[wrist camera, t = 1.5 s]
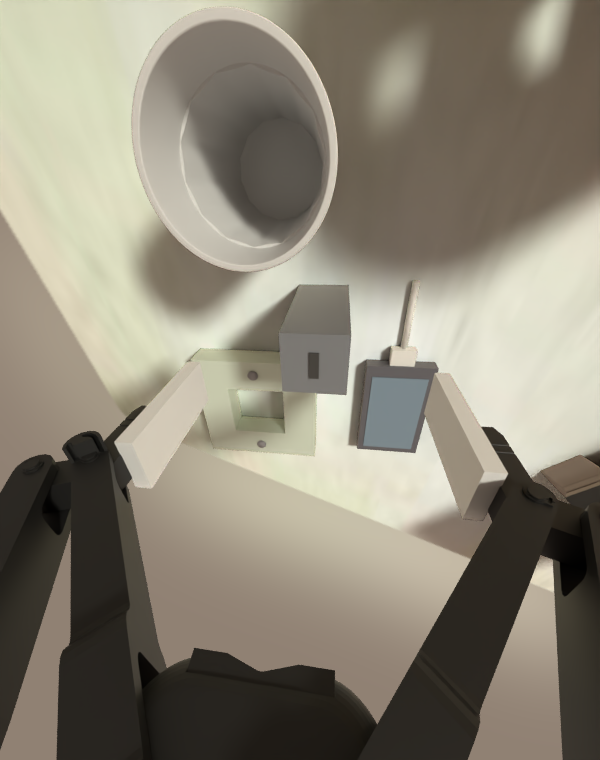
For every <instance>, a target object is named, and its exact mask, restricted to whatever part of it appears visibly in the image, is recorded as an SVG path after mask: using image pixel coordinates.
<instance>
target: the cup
mask: <svg viewBox="0 0 600 760" xmlns="http://www.w3.org/2000/svg"><path fill="white" fill-rule="evenodd" d="M132 141H133V149H134V155H135V160H136V164H137V168H138V172H139V175H140V178H141V181H142V184H143V187H144V189H145V192H146V194H147V196H148V198H149V200H150V203H151V204H152V206H153V208H154V210H155V212H156V213H157V215H158V216H159V218H160V219H161V221H162V222H163V224H164V225H165V226H166V228H167V229H168V230H169V231H170V233H171V234H172V235H173V236H174V237H175V238H176V239H177V240H178V241H179V242H180V243H181V244H182V245H183V246H184V247H185V248H187V249H188V250H189V251H190V252H192V253H193V254H194V255H196V256H197V257H199V258H201V259H202V260H204V261H206V262H208V263H210V264H212V265H215V266H217V267H220V268H223V269H227V270H232V271H238V272H255V271H262V270H266V269H270V268H273V267H275V266H278V265H280V264H282V263H284V262H286V261H287V260H289V259H291V258H292V257H293V256H295V255H296V254H297V253H299V252H300V251H301V250H302V249H303V248H304V247H305V246H306V245H307V244H308V243H309V241H310V240H311V239H312V238H313V236H314V235H315V233H316V232H317V230H318V229H319V227H320V225H321V224H322V222H323V220H324V218H325V216H326V213H327V211H328V208H329V206H330V203H331V199H332V196H333V192H334V188H335V182H336V176H337V166H338V144H337V133H336V127H335V121H334V116H333V112H332V108H331V105H330V102H329V99H328V96H327V93H326V90H325V88H324V86H323V83H322V81H321V79H320V77H319V75H318V73H317V71H316V70H315V68H314V66H313V64H312V63H311V61H310V60H309V58H308V57H307V55H306V54H305V53H304V51H303V50H302V49H301V48H300V46H299V45H298V44H297V43H296V42H295V41H294V40H293V39H292V38H291V37H290V36H289V35H288V34H287V33H286V32H285V31H284V30H282V29H281V28H280V27H279V26H277V25H276V24H274V23H273V22H271V21H270V20H268V19H266V18H265V17H263V16H261V15H259V14H256V13H254V12H251V11H248V10H245V9H241V8H236V7H226V6H219V7H210V8H205V9H201V10H198V11H195V12H192V13H190V14H188V15H186V16H184V17H183V18H181V19H179V20H178V21H177V22H175V23H174V24H173V25H171V26H170V27H169V28H168V29H167V30H166V31H165V32H164V33H163V34H162V35H161V36H160V38H159V39H158V40H157V41H156V43H155V44H154V46H153V47H152V49H151V50H150V52H149V54H148V56H147V58H146V59H145V62H144V64H143V66H142V69H141V71H140V74H139V77H138V81H137V84H136V88H135V93H134V99H133V106H132Z"/></svg>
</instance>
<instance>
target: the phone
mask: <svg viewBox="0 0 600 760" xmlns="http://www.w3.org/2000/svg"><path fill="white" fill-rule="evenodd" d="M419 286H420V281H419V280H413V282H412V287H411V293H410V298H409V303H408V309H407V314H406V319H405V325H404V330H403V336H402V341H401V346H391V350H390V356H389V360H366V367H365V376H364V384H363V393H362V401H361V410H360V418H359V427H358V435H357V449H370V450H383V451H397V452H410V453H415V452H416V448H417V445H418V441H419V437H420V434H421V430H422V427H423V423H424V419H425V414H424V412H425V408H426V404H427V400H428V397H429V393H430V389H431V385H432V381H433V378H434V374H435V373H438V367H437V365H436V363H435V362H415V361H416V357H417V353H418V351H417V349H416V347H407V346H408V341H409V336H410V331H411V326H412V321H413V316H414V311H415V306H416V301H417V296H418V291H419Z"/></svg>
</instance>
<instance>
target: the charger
mask: <svg viewBox="0 0 600 760" xmlns="http://www.w3.org/2000/svg"><path fill="white" fill-rule="evenodd" d="M278 334H279V349H280V364H281V379H282V391H284V392H302V393H320V394H338V395H346V393H347V380H348V368H349V356H350V343H351V323H350V303H349V285H299V287H298V289H297V292H296V294H295V296H294V298H293V301H292V303H291V305H290V308H289V310H288V312H287V315H286V317H285V319H284V322H283V324H282V326H281V328H280V331H279V333H278Z"/></svg>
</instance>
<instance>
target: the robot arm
mask: <svg viewBox="0 0 600 760" xmlns="http://www.w3.org/2000/svg"><path fill="white" fill-rule="evenodd" d="M207 402H208V395H207V391H206V387H205V382H204V378H203V373H202V369H201V365H200V362H187V363H186V364H185V365H184V366H183V367H182V368H181V369H180V370H179V371H178V372H177V374H176V375H175V376H174V377H173V378H172V379H171V380H170V381H169V382H168V383H167V385H166V386H165V387H164V388H163V389H162V390H161V391H160V392H159V393H158V394H157V396H156V397H155V398H154V399H153V400H152V401H151V402H150V403H149V404H148V405H147V406H141V407H139V408H137V409H136V410H134V411H133V412H131V414H130V415H129V416H128V417H127V418H126V419H125V421H123V422H122V423H121V424H120V426H118V427H117V428H116V430H114V431H113V432H112V433H111V435H110V436H109V437H108V438H107V439H106V440H105V441H103V439H102V437H101V435H100V434H99V433H98V432H96V431H87V432H83V433H80V434H78V435H76V436H74V437H72V438H71V439H69V440H68V441H67V442H66V443H65V444H64V445H63V448H62V450H63V451H64V453H65V455H66V456H67V458H68V459H69V460H67V461H61V462H55V461H54V459H53V458H52V457H51V456H50V455H46V454H44V455H38V456H35V457H32V458H29V459H27V460H25V461H24V462H22V463H21V464H20V465H18V466H17V467H16V468H15V470H14V471H13V472H12V474H11V476H10V477H9V479H8V481H7V482H6V484H5V486H4V488H3V489H2V491H1V493H0V749H1V746H2V743H3V740H4V737H5V735H6V732H7V729H8V726H9V723H10V720H11V717H12V714H13V711H14V708H15V705H16V702H17V699H18V695H19V692H20V689H21V686H22V683H23V679H24V676H25V673H26V670H27V667H28V664H29V660H30V657H31V654H32V651H33V648H34V644H35V641H36V638H37V635H38V632H39V629H40V626H41V622H42V619H43V616H44V613H45V610H46V607H47V603H48V600H49V597H50V594H51V591H52V588H53V584H54V581H55V578H56V575H57V572H58V568H59V565H60V562H61V559H62V556H63V553H64V550H65V546H66V543H67V540H68V537H69V534H70V531H71V637H70V643H69V646H67V647H66V648H65V649H64V650H63V651H62V654H61V657H60V665H59V693H58V729H57V760H468V757H469V754H470V752H471V749H472V746H473V744H474V741H475V738H476V735H477V732H478V728H479V724H480V715H479V714H480V710H481V707H482V704H483V701H484V699H485V696H486V694H487V691H488V688H489V686H490V683H491V681H492V678H493V676H494V673H495V670H496V668H497V665H498V663H499V660H500V658H501V655H502V652H503V650H504V647H505V645H506V642H507V640H508V637H509V634H510V632H511V629H512V627H513V624H514V621H515V619H516V616H517V614H518V611H519V609H520V606H521V603H522V601H523V598H524V596H525V593H526V591H527V588H528V586H529V583H530V580H531V578H532V575H533V573H534V570H535V568H536V565H537V562H538V560H539V557H540V555H543V556H545V557H548V558H551V559H553V573H554V593H555V613H556V633H557V654H558V674H559V694H560V715H561V733H562V754H563V760H600V502H593V503H591V504H590V505H588V507H587V508H586V509H583V508H580V507H577V506H574V505H570V504H567V503H564V502H561V501H559V500H557V498H556V497H555V495H554V494H553V493H552V492H551V491H550V490H548V489H547V488H545V487H544V486H542V485H541V484H538V483H535V482H533V481H532V479H531V478H530V476H529V475H528V473H527V472H526V470H525V469H524V467H523V465H522V464H521V462H520V461H519V459H518V458H517V456H516V455H515V454H514V452H513V450H512V449H511V447H509V444H508V442H507V441H506V439H505V438H504V436H503V435H502V434H500V433H499V432H498V431H497V430H496V429H494V428H493V427H481V426H480V424H479V423H478V421H477V419H476V417H475V416H474V414H473V412H472V411H471V409H470V407H469V405H468V404H467V402H466V400H465V399H464V397H463V395H462V393H461V392H460V390H459V388H458V387H457V385H456V383H455V381H454V380H453V378H452V376H451V374H450V373H435V374H434V378H433V381H432V385H431V389H430V393H429V397H428V400H427V404H426V408H425V412H424V414H425V417H426V420H427V423H428V425H429V428H430V431H431V434H432V436H433V439H434V442H435V445H436V448H437V450H438V453H439V456H440V459H441V461H442V464H443V467H444V470H445V472H446V475H447V478H448V481H449V483H450V486H451V489H452V492H453V494H454V497H455V500H456V503H457V506H458V508H459V511H460V514H461V517H462V519H468V520H478V521H483V520H484V518H485V516H486V514H487V513H489V515H490V517H491V519H492V524H491V525H490V527H489V529H488V531H487V532H486V534H485V536H484V538H483V539H482V541H481V543H480V545H479V546H478V548H477V550H476V552H475V554H474V555H473V557H472V559H471V561H470V562H469V564H468V566H467V568H466V569H465V571H464V573H463V575H462V576H461V578H460V580H459V582H458V583H457V585H456V587H455V589H454V591H453V593H452V594H451V596H450V598H449V599H448V601H447V603H446V605H445V606H444V608H443V610H442V612H441V613H440V615H439V617H438V619H437V621H436V622H435V624H434V626H433V627H432V629H431V631H430V633H429V635H428V636H427V638H426V640H425V642H424V643H423V645H422V647H421V649H420V650H419V652H418V654H417V656H416V657H415V659H414V661H413V663H412V664H411V666H410V668H409V670H408V672H407V673H406V675H405V677H404V679H403V680H402V682H401V684H400V686H399V687H398V689H397V691H396V693H395V695H394V696H393V698H392V700H391V701H390V704H389V705H388V707H387V709H386V710H385V712H384V714H383V716H382V717H381V719H380V721H379V723H378V724H377V723H376V722H375V720H374V718H373V717H372V715H371V714H370V712H369V711H368V709H367V708H366V706H365V705H364V704H363V703H362V702H361V700H360V699H359V698H358V697H357V696H356V695H355V694H354V693H353V692H352V691H351V690H350V689H348V688H347V687H346V686H344V685H343V684H341V683H340V682H338V681H336V680H335V671H334V670H328V669H322V668H316V667H310V666H304V665H295V666H290V667H285V668H281V669H275V670H270V671H264V672H260V671H257V670H256V669H254V668H252V667H250V666H248V665H247V664H245V663H243V662H242V661H240V660H238V659H236V658H235V657H233V656H231V655H230V654H228V653H223V652H217V651H210V650H204V649H198V648H194V651H193V654H192V657H191V658H189V659H186V660H183V661H180V662H178V663H176V664H174V665H172V666H170V667H169V668H166V664H165V661H164V658H163V655H162V653H161V650H160V647H159V643H158V639H157V634H156V629H155V624H154V618H153V613H152V608H151V603H150V598H149V592H148V587H147V582H146V577H145V572H144V566H143V561H142V556H141V551H140V546H139V540H138V535H137V531H136V525H135V520H134V515H133V509H132V504H131V499H130V494H129V489H128V488H127V486H126V485H127V484H128V483H129V481H130V480H131V479H132V480H133V482H134V484H135V486H136V487H142V488H153V486H154V484H155V483H156V481H157V480H158V478H159V477H160V475H161V474H162V472H163V470H164V469H165V467H166V466H167V464H168V463H169V461H170V460H171V458H172V457H173V455H174V453H175V452H176V450H177V449H178V447H179V445H180V444H181V442H182V441H183V439H184V438H185V436H186V435H187V433H188V432H189V430H190V428H191V427H192V425H193V424H194V422H195V421H196V419H197V418H198V416H199V414H200V413H201V411H202V410H203V408H204V407H205V405H206V404H207Z"/></svg>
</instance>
